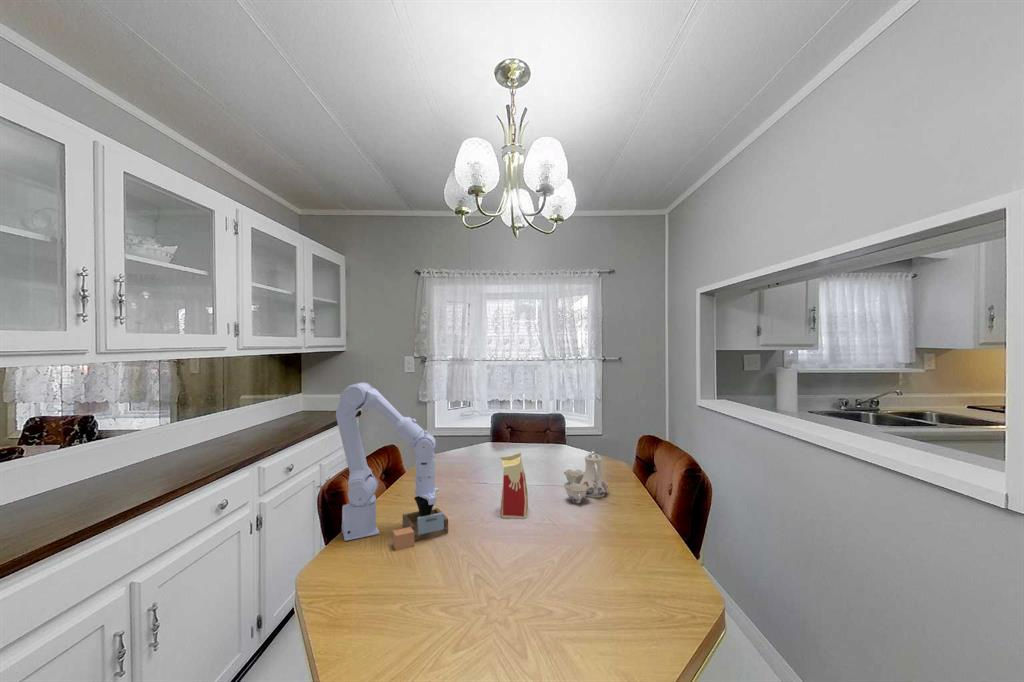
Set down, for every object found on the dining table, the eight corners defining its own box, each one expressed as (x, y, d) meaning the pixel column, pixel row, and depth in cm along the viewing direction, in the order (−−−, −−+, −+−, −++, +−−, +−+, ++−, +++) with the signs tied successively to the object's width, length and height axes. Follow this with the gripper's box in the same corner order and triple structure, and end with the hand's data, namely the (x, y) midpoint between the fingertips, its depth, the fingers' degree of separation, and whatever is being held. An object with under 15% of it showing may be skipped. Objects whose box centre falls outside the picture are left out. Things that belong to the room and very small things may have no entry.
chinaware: (561, 485, 167) (556, 445, 167) (601, 481, 166) (597, 441, 167) (568, 512, 139) (563, 463, 139) (617, 507, 138) (611, 459, 139)
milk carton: (528, 508, 138) (527, 449, 139) (526, 519, 129) (526, 456, 130) (501, 507, 139) (501, 448, 140) (498, 518, 130) (497, 455, 130)
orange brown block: (395, 550, 109) (395, 535, 109) (392, 545, 112) (392, 530, 112) (414, 546, 111) (414, 531, 111) (410, 540, 115) (410, 526, 115)
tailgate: (418, 535, 114) (418, 518, 114) (417, 533, 115) (417, 517, 115) (444, 529, 117) (444, 513, 118) (443, 528, 118) (443, 512, 119)
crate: (412, 542, 113) (412, 528, 113) (402, 527, 123) (402, 514, 123) (449, 534, 118) (449, 520, 119) (437, 520, 128) (437, 507, 128)
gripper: (445, 480, 117) (445, 527, 117) (430, 467, 130) (430, 510, 130) (422, 483, 114) (421, 532, 113) (408, 470, 127) (408, 514, 126)
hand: (425, 521), depth 121 cm, fingers closed
